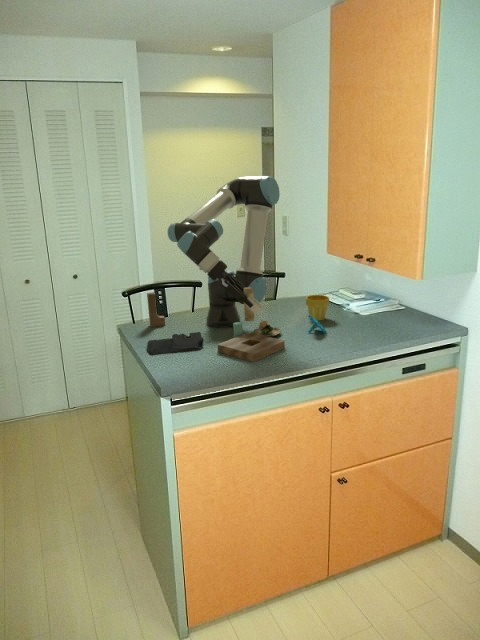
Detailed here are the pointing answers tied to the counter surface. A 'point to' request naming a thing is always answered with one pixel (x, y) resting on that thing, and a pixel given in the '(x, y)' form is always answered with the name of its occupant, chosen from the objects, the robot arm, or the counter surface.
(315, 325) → the gear
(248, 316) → the long maple pin
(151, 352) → the dark slate chunk
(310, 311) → the plant pot
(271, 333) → the burger
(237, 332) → the short teal pin
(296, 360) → the counter surface
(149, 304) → the wooden block
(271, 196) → the robot arm
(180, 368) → the counter surface
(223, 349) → the walnut hole board
